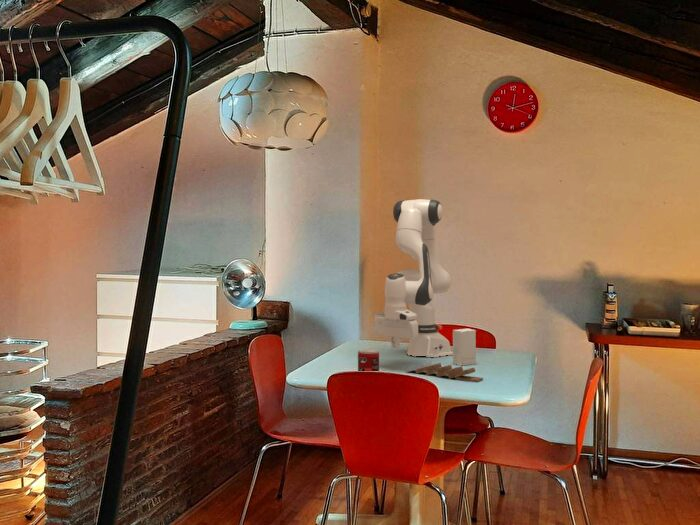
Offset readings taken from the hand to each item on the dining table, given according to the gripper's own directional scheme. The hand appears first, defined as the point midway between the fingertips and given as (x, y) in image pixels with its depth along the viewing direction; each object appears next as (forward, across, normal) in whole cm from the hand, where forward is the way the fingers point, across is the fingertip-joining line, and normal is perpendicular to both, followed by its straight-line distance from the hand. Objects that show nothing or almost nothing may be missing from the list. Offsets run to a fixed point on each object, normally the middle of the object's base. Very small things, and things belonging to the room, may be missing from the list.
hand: (395, 347), depth 293 cm
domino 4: (+8, +23, -2) cm, 24 cm away
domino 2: (+8, +12, -1) cm, 15 cm away
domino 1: (+8, +8, -1) cm, 11 cm away
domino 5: (+8, +28, -2) cm, 29 cm away
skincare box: (+10, +17, +26) cm, 33 cm away
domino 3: (+8, +17, -1) cm, 19 cm away
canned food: (+8, +4, -24) cm, 25 cm away
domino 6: (+8, +30, -2) cm, 32 cm away
